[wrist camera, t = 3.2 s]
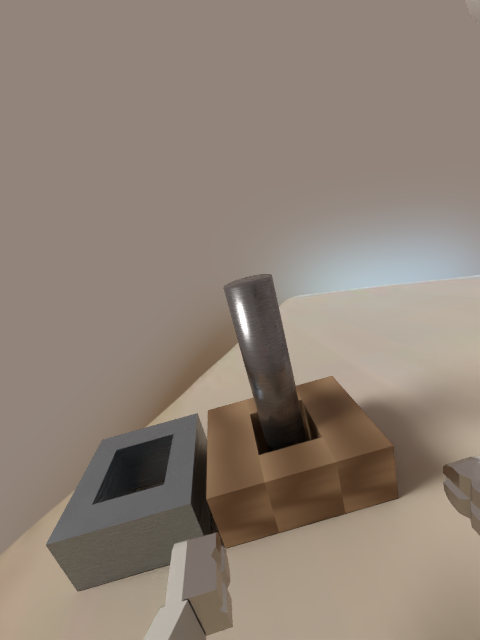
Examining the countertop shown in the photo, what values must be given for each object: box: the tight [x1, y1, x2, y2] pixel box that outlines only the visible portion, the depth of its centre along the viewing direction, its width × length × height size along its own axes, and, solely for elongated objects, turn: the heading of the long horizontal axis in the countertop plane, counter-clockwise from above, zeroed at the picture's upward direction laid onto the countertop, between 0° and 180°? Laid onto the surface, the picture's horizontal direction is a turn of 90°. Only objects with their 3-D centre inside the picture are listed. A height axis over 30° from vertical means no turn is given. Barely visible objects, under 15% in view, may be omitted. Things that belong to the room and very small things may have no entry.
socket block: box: [46, 413, 211, 591], centre depth 22 cm, size 9×9×4 cm
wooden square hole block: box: [206, 376, 398, 548], centre depth 22 cm, size 12×9×4 cm
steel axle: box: [224, 274, 307, 452], centre depth 20 cm, size 3×3×16 cm
